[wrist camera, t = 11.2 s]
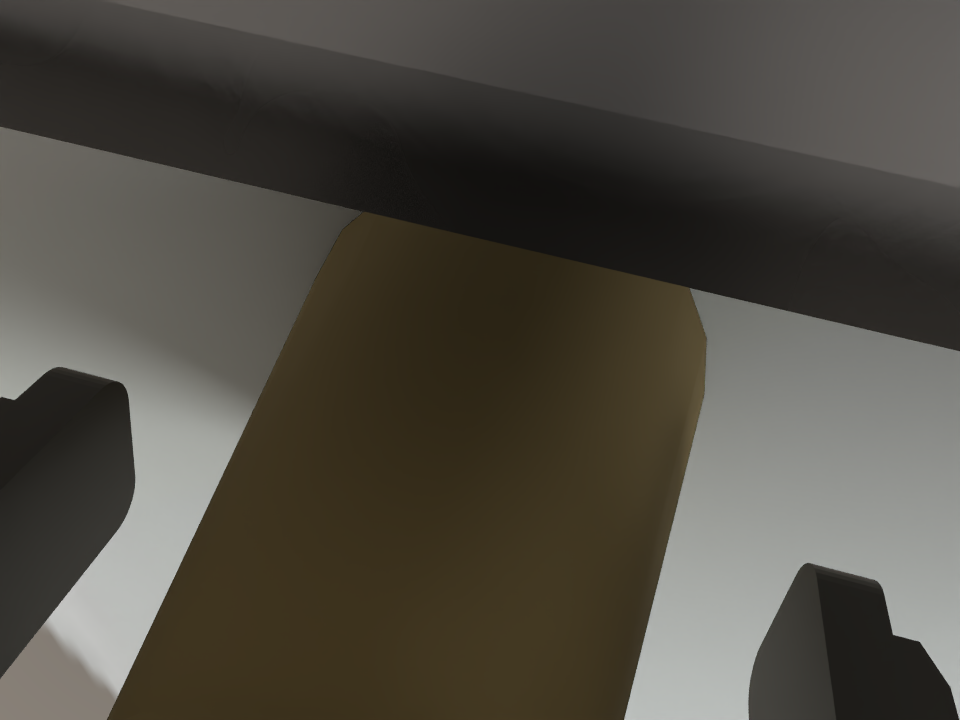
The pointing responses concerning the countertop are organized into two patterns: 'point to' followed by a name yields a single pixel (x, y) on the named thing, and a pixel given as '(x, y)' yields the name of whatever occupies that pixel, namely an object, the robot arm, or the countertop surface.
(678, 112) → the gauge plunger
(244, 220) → the countertop surface
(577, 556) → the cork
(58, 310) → the countertop surface
